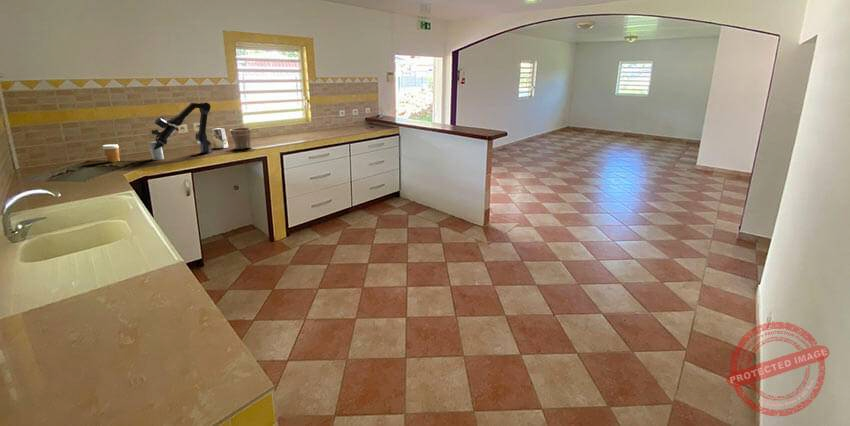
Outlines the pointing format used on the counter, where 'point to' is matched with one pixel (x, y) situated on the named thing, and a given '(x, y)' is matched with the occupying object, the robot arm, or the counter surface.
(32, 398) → the counter surface
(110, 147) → the disposable coffee cup
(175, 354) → the counter surface
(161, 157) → the white tapered cylinder
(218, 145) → the coffee box
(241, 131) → the plant pot
